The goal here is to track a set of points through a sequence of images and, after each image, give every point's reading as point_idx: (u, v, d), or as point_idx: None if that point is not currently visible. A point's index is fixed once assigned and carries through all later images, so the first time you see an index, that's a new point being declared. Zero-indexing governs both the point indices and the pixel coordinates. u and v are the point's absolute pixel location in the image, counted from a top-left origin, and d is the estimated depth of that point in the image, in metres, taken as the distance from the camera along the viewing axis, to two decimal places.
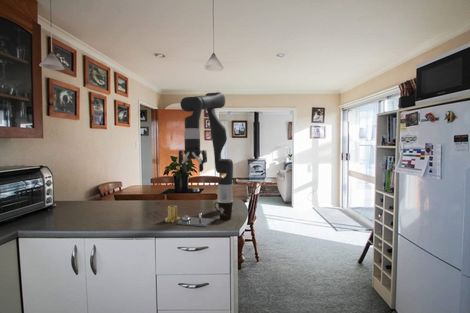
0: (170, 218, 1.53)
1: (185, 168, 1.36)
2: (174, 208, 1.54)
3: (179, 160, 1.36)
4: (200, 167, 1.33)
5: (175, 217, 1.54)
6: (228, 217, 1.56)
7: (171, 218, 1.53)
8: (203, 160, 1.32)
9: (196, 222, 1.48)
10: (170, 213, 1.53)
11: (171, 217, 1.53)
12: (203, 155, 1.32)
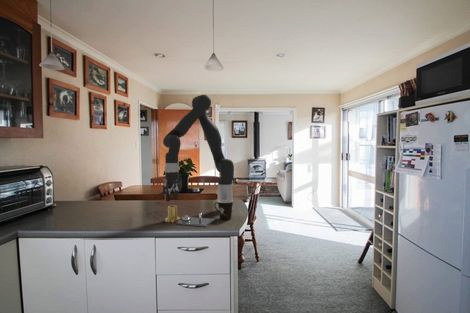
0: (170, 218, 1.53)
1: None
2: (174, 208, 1.54)
3: (167, 192, 1.49)
4: None
5: (175, 217, 1.54)
6: (228, 217, 1.56)
7: (171, 218, 1.53)
8: (179, 188, 1.61)
9: (196, 222, 1.48)
10: (170, 213, 1.53)
11: (171, 217, 1.53)
12: (179, 184, 1.61)
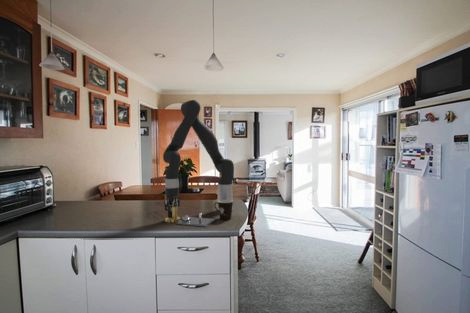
0: (170, 218, 1.53)
1: None
2: (174, 208, 1.54)
3: (169, 209, 1.50)
4: None
5: (175, 217, 1.54)
6: (228, 217, 1.56)
7: (171, 218, 1.53)
8: (178, 205, 1.60)
9: (196, 222, 1.48)
10: None
11: None
12: (179, 201, 1.60)
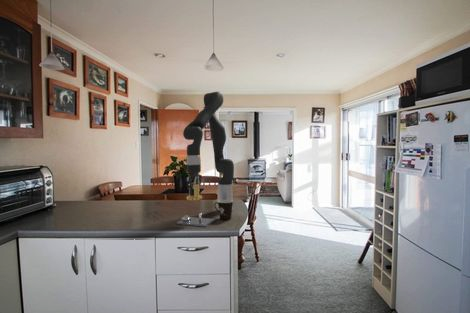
0: (192, 196, 1.49)
1: None
2: (196, 186, 1.49)
3: (191, 186, 1.46)
4: None
5: (197, 195, 1.50)
6: (228, 217, 1.56)
7: (193, 196, 1.49)
8: (200, 183, 1.55)
9: (196, 222, 1.48)
10: None
11: None
12: (200, 179, 1.56)
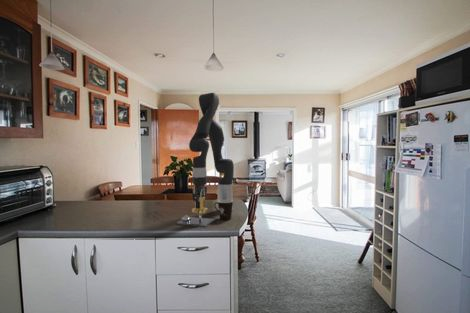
0: None
1: None
2: (202, 198, 1.48)
3: (197, 199, 1.45)
4: None
5: (203, 207, 1.49)
6: (228, 217, 1.56)
7: (199, 208, 1.48)
8: (205, 195, 1.54)
9: (196, 222, 1.48)
10: None
11: None
12: (206, 191, 1.55)
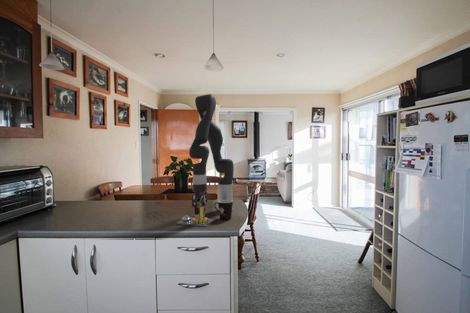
0: (198, 218, 1.48)
1: None
2: (202, 208, 1.48)
3: (196, 205, 1.44)
4: None
5: (203, 217, 1.49)
6: (228, 217, 1.56)
7: (199, 218, 1.48)
8: (206, 200, 1.56)
9: None
10: None
11: (199, 217, 1.48)
12: (206, 196, 1.56)
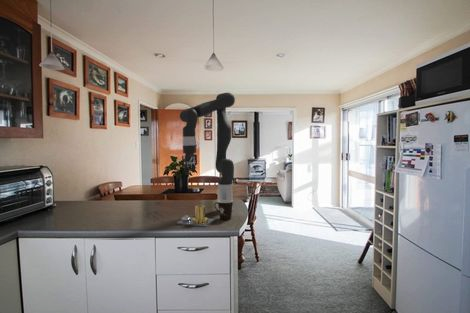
0: (198, 218, 1.48)
1: None
2: (202, 208, 1.48)
3: (186, 164, 1.51)
4: None
5: (203, 217, 1.49)
6: (228, 217, 1.56)
7: (199, 218, 1.48)
8: (196, 162, 1.63)
9: None
10: (198, 213, 1.48)
11: (199, 217, 1.48)
12: (196, 158, 1.63)
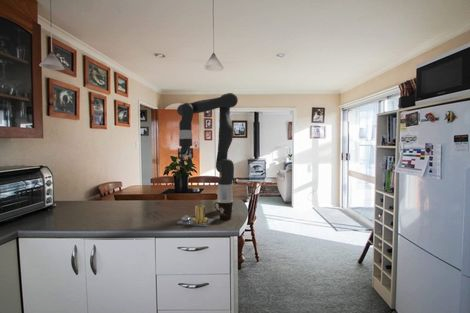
0: (198, 218, 1.48)
1: None
2: (202, 208, 1.48)
3: (182, 157, 1.55)
4: None
5: (203, 217, 1.49)
6: (228, 217, 1.56)
7: (199, 218, 1.48)
8: (192, 156, 1.67)
9: None
10: (198, 213, 1.48)
11: (199, 217, 1.48)
12: (192, 152, 1.67)
